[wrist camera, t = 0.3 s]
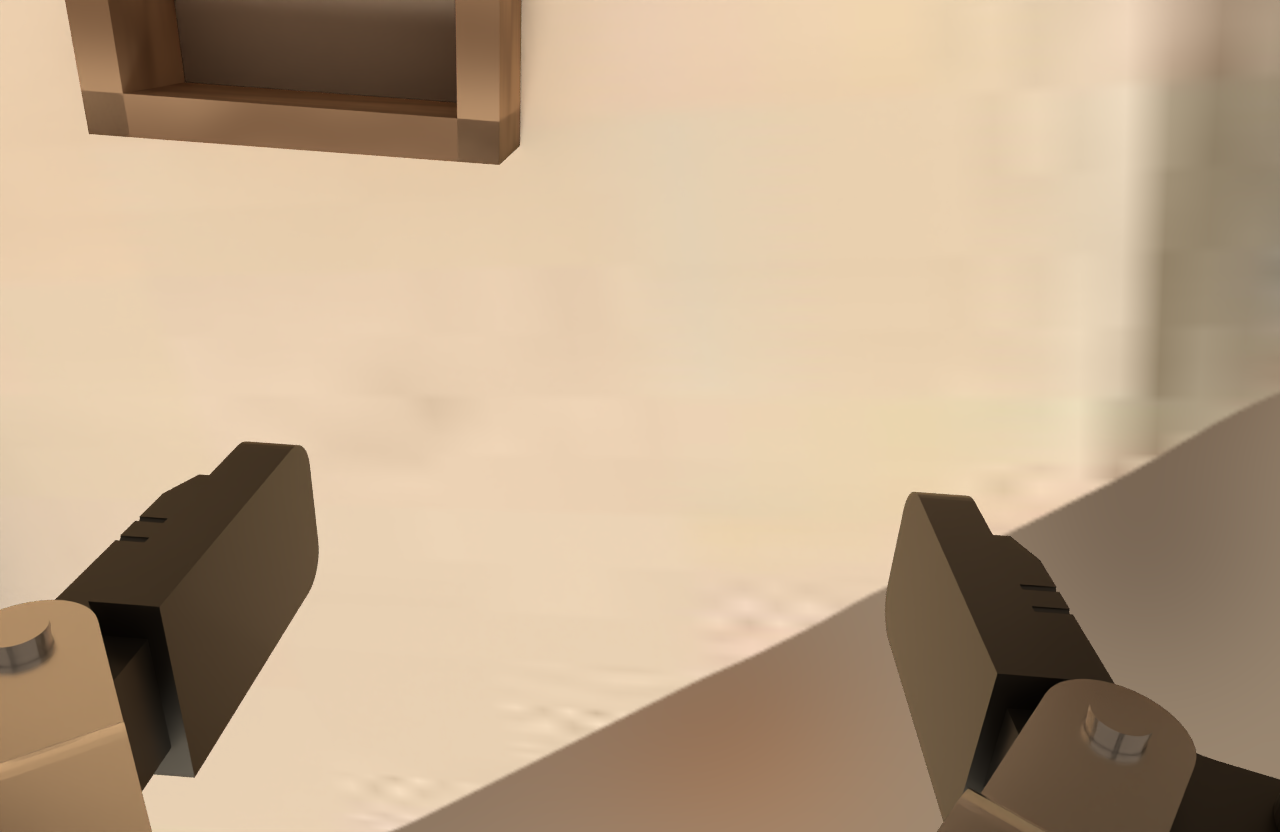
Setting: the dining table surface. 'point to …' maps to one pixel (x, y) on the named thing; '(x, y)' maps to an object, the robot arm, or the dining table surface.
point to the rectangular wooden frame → (396, 127)
